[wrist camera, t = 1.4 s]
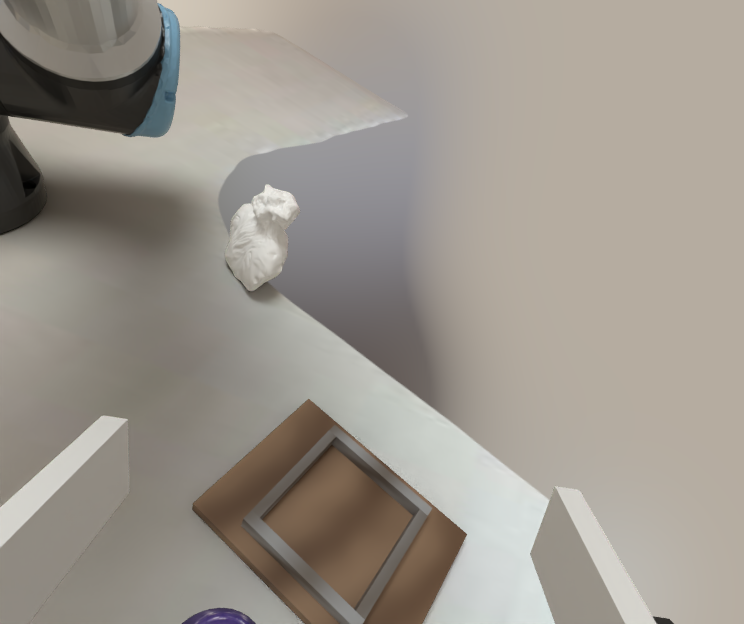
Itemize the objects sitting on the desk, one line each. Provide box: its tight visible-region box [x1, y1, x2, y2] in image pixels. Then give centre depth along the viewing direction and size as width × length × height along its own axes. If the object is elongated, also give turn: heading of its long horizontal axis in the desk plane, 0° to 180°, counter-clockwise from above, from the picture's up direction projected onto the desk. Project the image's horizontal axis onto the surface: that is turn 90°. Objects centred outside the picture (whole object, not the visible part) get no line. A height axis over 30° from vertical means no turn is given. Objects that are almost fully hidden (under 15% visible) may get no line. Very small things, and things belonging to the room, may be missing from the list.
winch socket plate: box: [192, 399, 467, 624], centre depth 35 cm, size 18×13×3 cm
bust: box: [225, 185, 300, 291], centre depth 51 cm, size 12×8×11 cm
